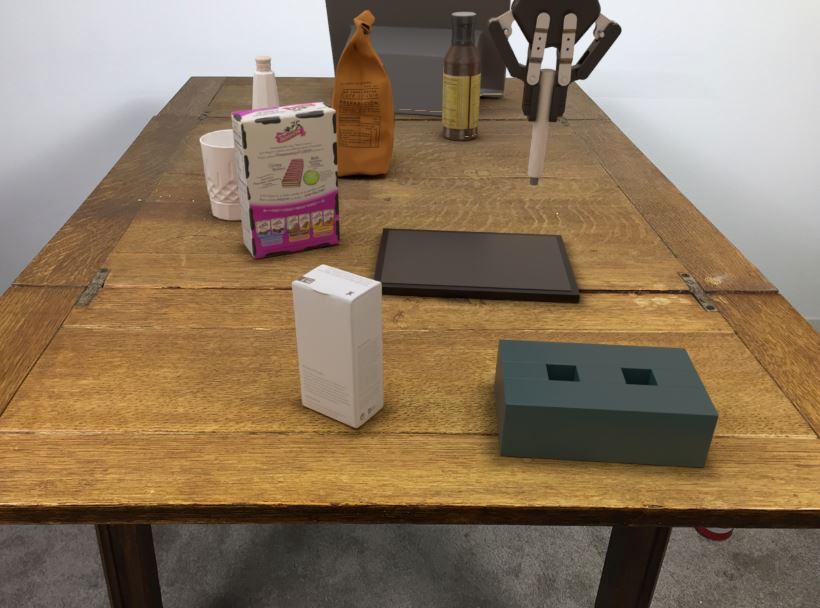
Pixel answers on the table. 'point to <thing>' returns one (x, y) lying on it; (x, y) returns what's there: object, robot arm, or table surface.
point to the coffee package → (363, 106)
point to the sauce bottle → (461, 80)
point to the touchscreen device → (419, 45)
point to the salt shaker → (264, 85)
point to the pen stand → (601, 403)
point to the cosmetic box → (339, 343)
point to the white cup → (221, 174)
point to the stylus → (541, 125)
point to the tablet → (475, 265)
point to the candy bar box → (287, 177)
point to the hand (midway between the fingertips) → (541, 119)
